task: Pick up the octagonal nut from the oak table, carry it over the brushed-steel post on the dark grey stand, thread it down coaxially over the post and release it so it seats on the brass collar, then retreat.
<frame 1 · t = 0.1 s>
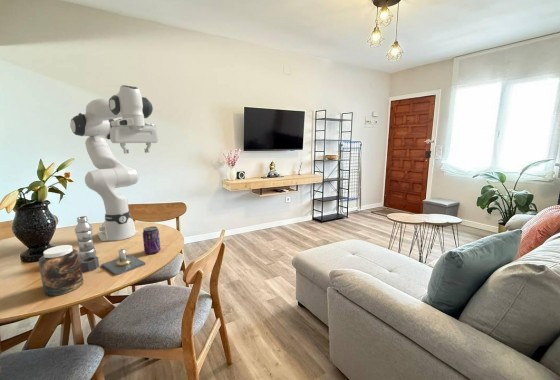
hand: (137, 153, 124), 48 cm above the table, fingers open, 8 cm apart
plastic bottle: (88, 259, 122), on the table
octagonal nut: (89, 268, 113), on the table
post stand: (123, 265, 116), on the table
beverage can: (152, 252, 130), on the table
jar: (64, 287, 99), on the table
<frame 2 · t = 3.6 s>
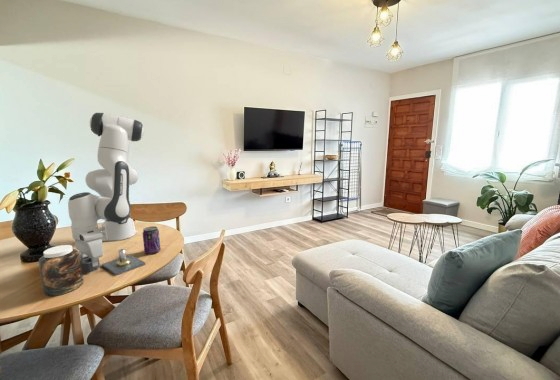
hand: (90, 263, 113), 3 cm above the table, fingers open, 8 cm apart
octagonal nut: (90, 269, 113), on the table
everything else where it was.
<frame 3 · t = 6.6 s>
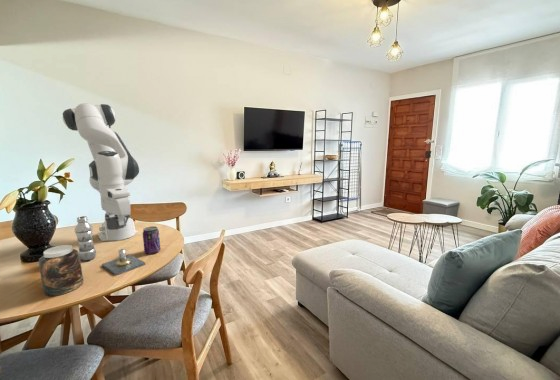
hand: (117, 223, 112), 19 cm above the table, fingers closed on octagonal nut, 6 cm apart
octagonal nut: (117, 227, 112), point 18 cm above the table, touching gripper
everything else where it was.
when the fingers open (5 cm above the table, at t = 9.4 s): octagonal nut drops 1 cm, resting on post stand.
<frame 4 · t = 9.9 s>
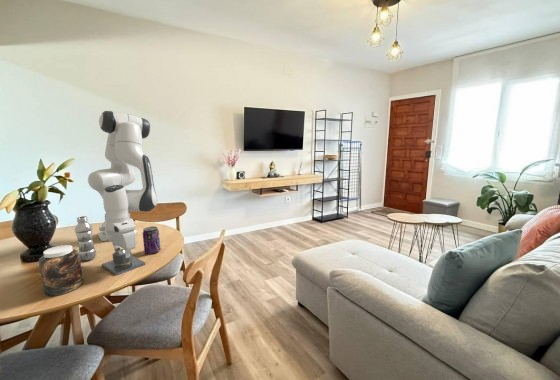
hand: (122, 254, 115), 5 cm above the table, fingers open, 8 cm apart
octagonal nut: (122, 261, 115), point 2 cm above the table, touching post stand
everything else where it was.
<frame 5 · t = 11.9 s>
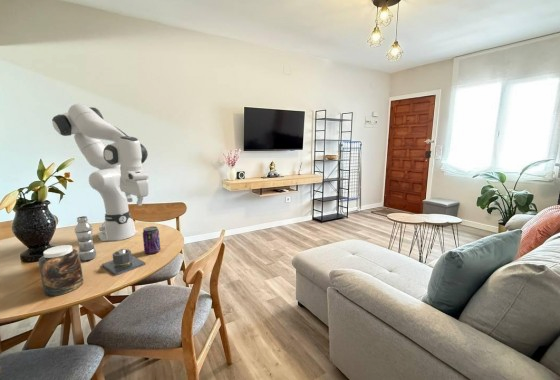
hand: (134, 203, 121), 25 cm above the table, fingers open, 8 cm apart
nothing on the table moved.
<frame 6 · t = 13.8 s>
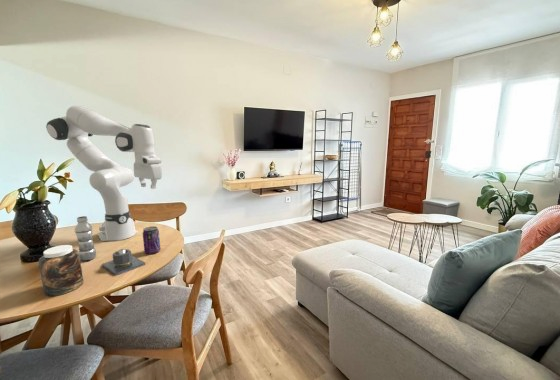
hand: (148, 187, 129), 31 cm above the table, fingers open, 8 cm apart
nothing on the table moved.
at the end: octagonal nut 0.1 cm off-centre on the post stand, point 2.0 cm above the post stand's base; the gripper is holding nothing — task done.
